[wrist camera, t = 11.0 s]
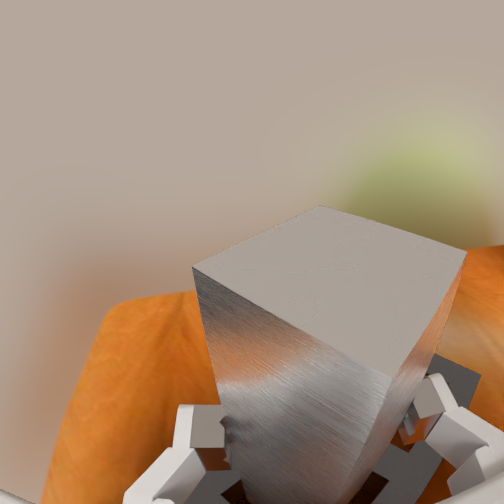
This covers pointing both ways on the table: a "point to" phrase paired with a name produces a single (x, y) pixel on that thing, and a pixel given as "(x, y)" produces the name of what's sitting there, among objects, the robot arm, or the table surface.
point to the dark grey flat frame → (388, 467)
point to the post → (321, 347)
